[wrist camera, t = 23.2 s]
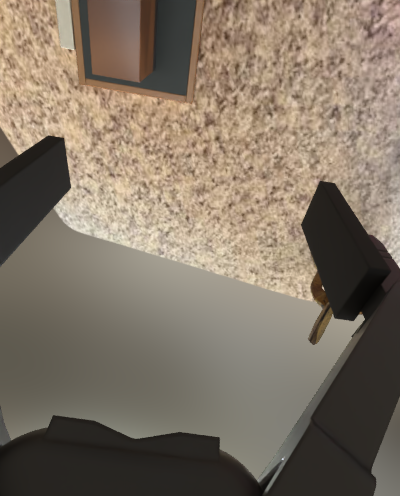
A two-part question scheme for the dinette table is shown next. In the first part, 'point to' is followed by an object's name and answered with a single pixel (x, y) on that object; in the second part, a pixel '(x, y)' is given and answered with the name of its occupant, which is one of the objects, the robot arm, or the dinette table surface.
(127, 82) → the chalkboard
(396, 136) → the dinette table surface
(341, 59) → the dinette table surface
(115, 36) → the eraser
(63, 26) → the white chalk stick
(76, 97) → the dinette table surface
